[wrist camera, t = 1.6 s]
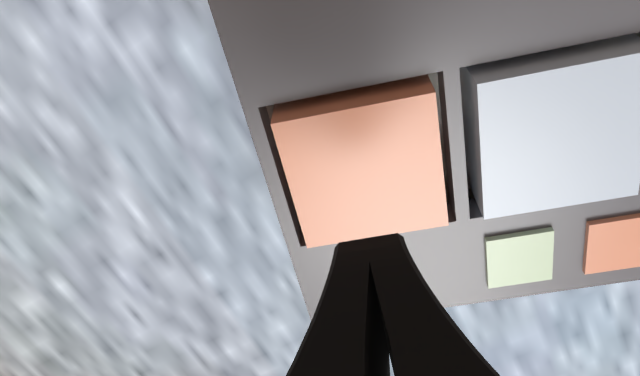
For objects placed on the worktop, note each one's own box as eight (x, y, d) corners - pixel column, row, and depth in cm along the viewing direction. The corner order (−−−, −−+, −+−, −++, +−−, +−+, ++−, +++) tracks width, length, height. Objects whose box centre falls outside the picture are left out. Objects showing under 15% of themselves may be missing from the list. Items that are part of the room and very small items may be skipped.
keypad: (817, -205, 13) (1021, -226, 9) (721, 177, 20) (819, 259, 16) (227, -63, 15) (194, -32, 11) (314, 243, 22) (313, 330, 18)
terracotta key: (420, 59, 15) (435, 92, 13) (434, 182, 17) (448, 225, 15) (277, 89, 15) (270, 124, 13) (308, 203, 17) (306, 248, 15)
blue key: (613, 21, 14) (660, 49, 12) (600, 153, 16) (638, 194, 14) (456, 52, 14) (476, 84, 13) (465, 176, 17) (483, 220, 15)
